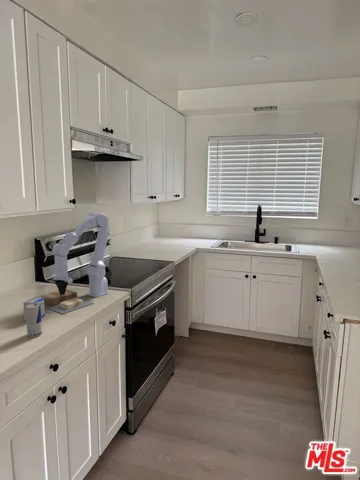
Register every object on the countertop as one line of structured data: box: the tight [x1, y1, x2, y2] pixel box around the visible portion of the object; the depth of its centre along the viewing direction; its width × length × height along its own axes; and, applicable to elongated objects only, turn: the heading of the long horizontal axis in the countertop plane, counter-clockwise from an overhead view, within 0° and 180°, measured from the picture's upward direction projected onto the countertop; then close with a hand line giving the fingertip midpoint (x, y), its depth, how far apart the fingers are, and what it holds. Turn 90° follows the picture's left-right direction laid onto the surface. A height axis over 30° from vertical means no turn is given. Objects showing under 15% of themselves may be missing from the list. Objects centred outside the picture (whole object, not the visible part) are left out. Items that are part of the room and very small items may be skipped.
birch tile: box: [60, 297, 83, 309], centre depth 161 cm, size 9×6×2 cm, turn 144°
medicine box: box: [22, 296, 46, 322], centre depth 146 cm, size 8×4×9 cm, turn 164°
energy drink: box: [25, 303, 43, 338], centre depth 129 cm, size 5×5×12 cm
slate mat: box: [47, 297, 95, 315], centre depth 161 cm, size 18×12×1 cm, turn 144°
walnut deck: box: [36, 288, 78, 308], centre depth 168 cm, size 16×10×4 cm, turn 144°
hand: (62, 294), depth 165 cm, fingers closed
